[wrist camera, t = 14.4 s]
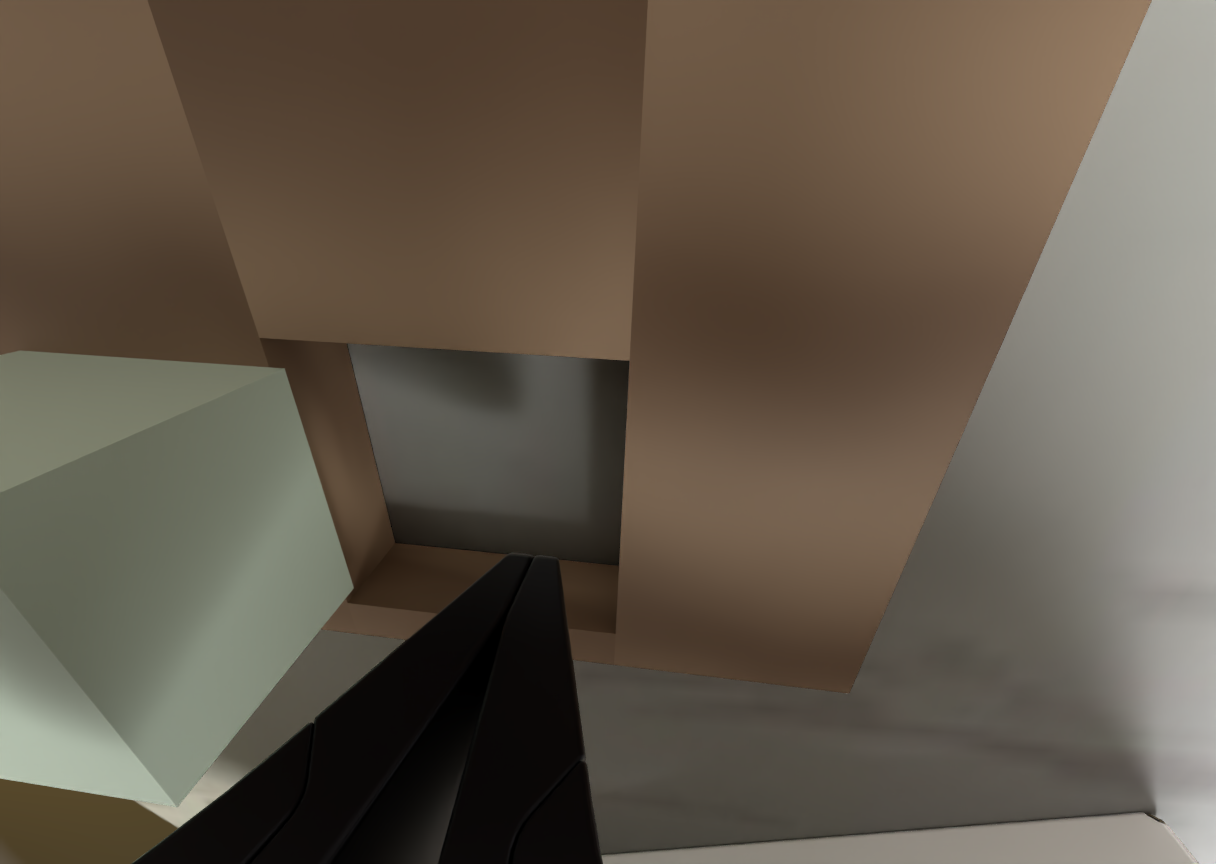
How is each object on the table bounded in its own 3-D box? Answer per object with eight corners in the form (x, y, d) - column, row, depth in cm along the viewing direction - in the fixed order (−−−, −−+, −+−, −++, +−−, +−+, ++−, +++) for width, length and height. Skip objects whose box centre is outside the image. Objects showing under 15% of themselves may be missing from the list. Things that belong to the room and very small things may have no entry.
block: (353, 588, 10) (177, 806, 6) (145, 564, 10) (-131, 757, 7) (285, 368, 7) (-56, 517, 4) (20, 350, 8) (-500, 469, 4)
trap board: (820, 616, 11) (872, 755, 8) (-238, 502, 14) (-465, 578, 11) (1133, -290, 5) (1775, -961, 2) (-920, -168, 8) (-1843, -383, 5)
